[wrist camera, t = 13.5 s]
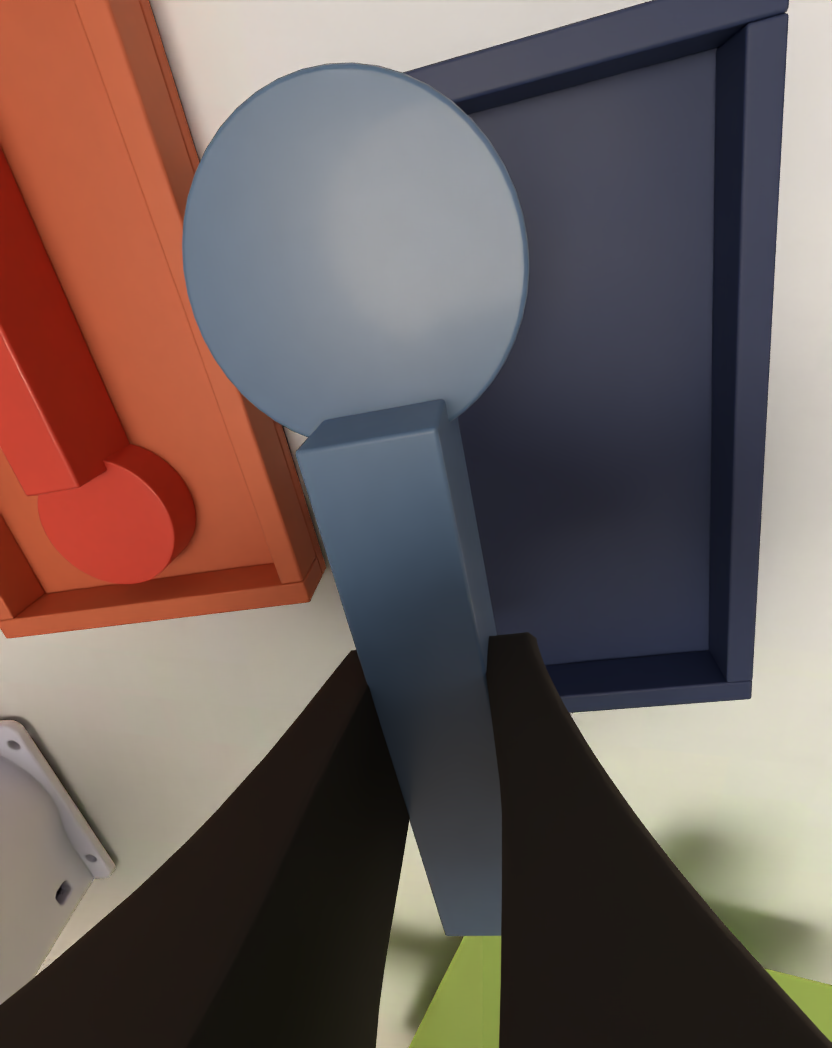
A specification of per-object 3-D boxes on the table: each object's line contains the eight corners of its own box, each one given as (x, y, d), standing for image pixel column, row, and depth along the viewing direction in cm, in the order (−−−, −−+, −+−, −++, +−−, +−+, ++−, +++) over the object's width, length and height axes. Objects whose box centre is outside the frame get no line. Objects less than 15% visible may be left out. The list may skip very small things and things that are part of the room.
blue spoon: (586, 799, 12) (611, 936, 9) (398, 808, 12) (378, 938, 10) (498, 50, 7) (506, -54, 4) (184, 142, 7) (44, 94, 5)
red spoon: (-127, 113, 13) (-254, 86, 11) (18, 65, 13) (-86, 25, 10) (103, 568, 19) (49, 615, 16) (215, 553, 18) (175, 599, 16)
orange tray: (327, 567, 18) (310, 603, 16) (47, 604, 20) (6, 639, 18) (108, -133, 11) (39, -201, 10) (-283, 21, 13) (-401, -12, 12)
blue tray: (725, 654, 18) (752, 699, 16) (408, 683, 20) (400, 726, 18) (744, 2, 11) (792, -42, 10) (260, 138, 13) (226, 122, 11)
